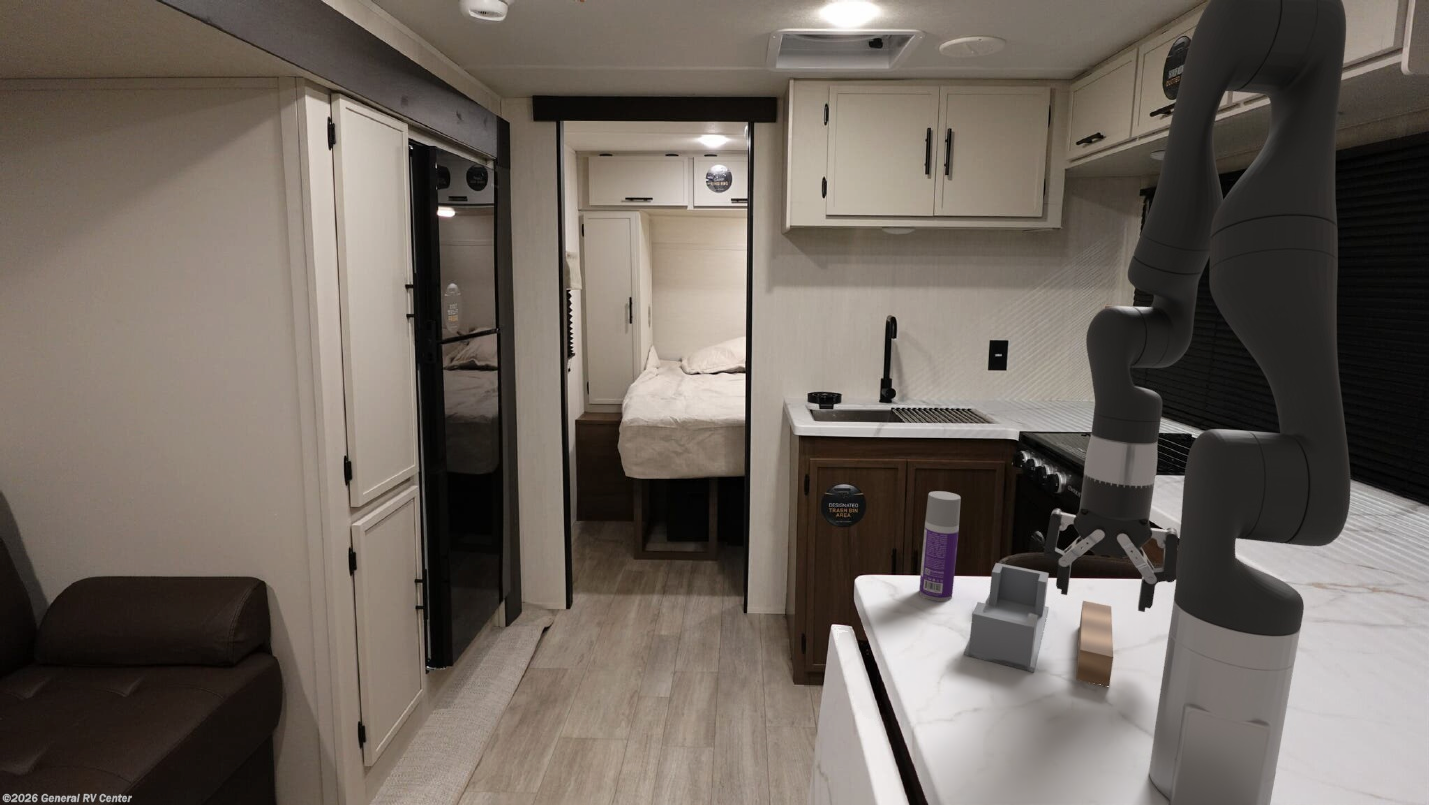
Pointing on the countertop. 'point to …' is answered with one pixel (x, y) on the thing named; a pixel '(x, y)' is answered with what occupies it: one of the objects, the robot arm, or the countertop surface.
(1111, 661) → the slat
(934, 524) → the container
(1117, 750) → the countertop surface
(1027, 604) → the endcap rail
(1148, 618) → the countertop surface
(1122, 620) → the countertop surface
